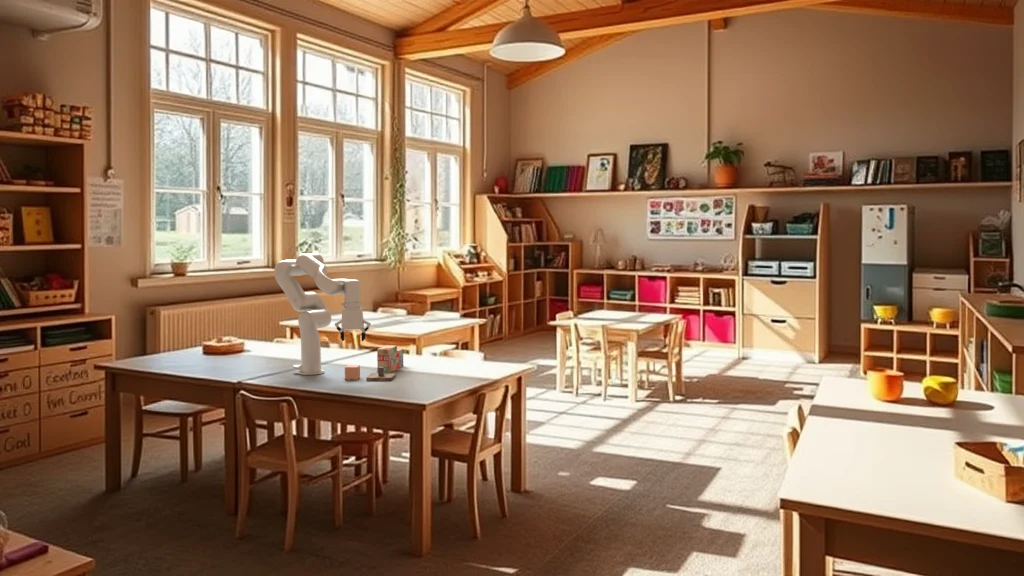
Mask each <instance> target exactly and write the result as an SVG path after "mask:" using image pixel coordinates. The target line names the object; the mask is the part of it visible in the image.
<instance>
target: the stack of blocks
mask: <svg viewBox="0 0 1024 576" xmlns="http://www.w3.org/2000/svg"><path fill="white" fill-rule="evenodd" d="M376 352H377V353H376V354H377V356H376V357H377V358H376V359H377V360H376V362H377V369H378V367H384V373H393V372H394V371H396V370H398V369H400V368H401V367H404V349H403V348H398V345H386V344H385V345H384V346H381V347H379V348H377V349H376Z"/></svg>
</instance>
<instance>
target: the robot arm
mask: <svg viewBox="0 0 1024 576" xmlns="http://www.w3.org/2000/svg"><path fill="white" fill-rule="evenodd" d="M295 258H296V259H285V260H280V261H279V262H277V263H276V264H275V266H274V270H273V271H274V278H275V281H276V282H277V285H278V286H279V287H280V288H281V290H282V291H283V293H284V295H285V296H286V298H287V300H288V301H289V303H290V306H291V307H292V308H293V310H294V311H296V312H300V314H299V315H298V318H297V320H298V321H297V322H298V323H297V324H298V326H299V331H300V333H299V334H300V354H301V355H300V358H301V359H300V360H301V363H300V364H299V365H298V364H293V367H292V369H294V370H298V374H299V375H302V376H314V375H315V376H316V375H321V374H322V375H323V374H324V373H325V370H324V369H322V360H321V359H322V355H321V354H322V353H321V349H322V348H321V345H322V344H321V335H320V333H319V331H318V329H320V328H321V329H323V328H326V327H329V325H330V324H331V323H332V315H331V312H330V311H329V308H328V307H327V306H326V304H325V302H324V300H323V299H322V297H321V296H320V294H318V293H317V292H315V291H304V289H303V287H302V286H301V284H300V283H299V282H298V281H297V280H296V279H294V278H293V277H299V276H300V277H301V276H306V275H308V276H310V277H311V278H312V279H313V280H314V283H315V285H316V287H317V288H318V289H319V290H321V291H322V292H323V293H325V294H327V295H330V296H336V295H344V298H343V299H344V302H341V306H343V307H344V308H342V311H341V319H340V320H339V321H337V322H335V323H334V326H335V327H336V329H337V331H338V332H339V334H340V340H341V342H344V341H345V340H346V339H345V332H344V331H345V330H360V331H361V341H362V342H364V341H365V340H366V332H367V331H368V330H369V329H370V327H371V326H372V324H371V322H369V321H367V320H365V319H364V313H363V308H362V307H361V282H360V280H359V279H349V278H333V279H332V278H330V277H328V276H327V274H328V267H327V266H326V265H325V263H324V262H325V260H324V257H323V256H322V255H321V254H320V253H316V252H309V253H308V252H307V253H301V254H299V255H298V256H297V257H295ZM340 324H341V325H340ZM364 325H366V327H364ZM340 326H341V327H340Z"/></svg>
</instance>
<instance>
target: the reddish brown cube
mask: <svg viewBox="0 0 1024 576" xmlns="http://www.w3.org/2000/svg"><path fill="white" fill-rule="evenodd" d="M358 378H359V379H360V378H361V366H360V364H347V365H346V366H345V367H344V380H345V379H358ZM359 379H358V380H359Z"/></svg>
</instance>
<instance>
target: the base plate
mask: <svg viewBox="0 0 1024 576" xmlns="http://www.w3.org/2000/svg"><path fill="white" fill-rule="evenodd" d="M377 367H378V366H377ZM396 376H397V374H396V372H390V373H384V367H378V368H377V372H371V373H370V374H369V375H368V376H367V377H365V379H366V382H392V381H393V380H394V379H395V378H396Z"/></svg>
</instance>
